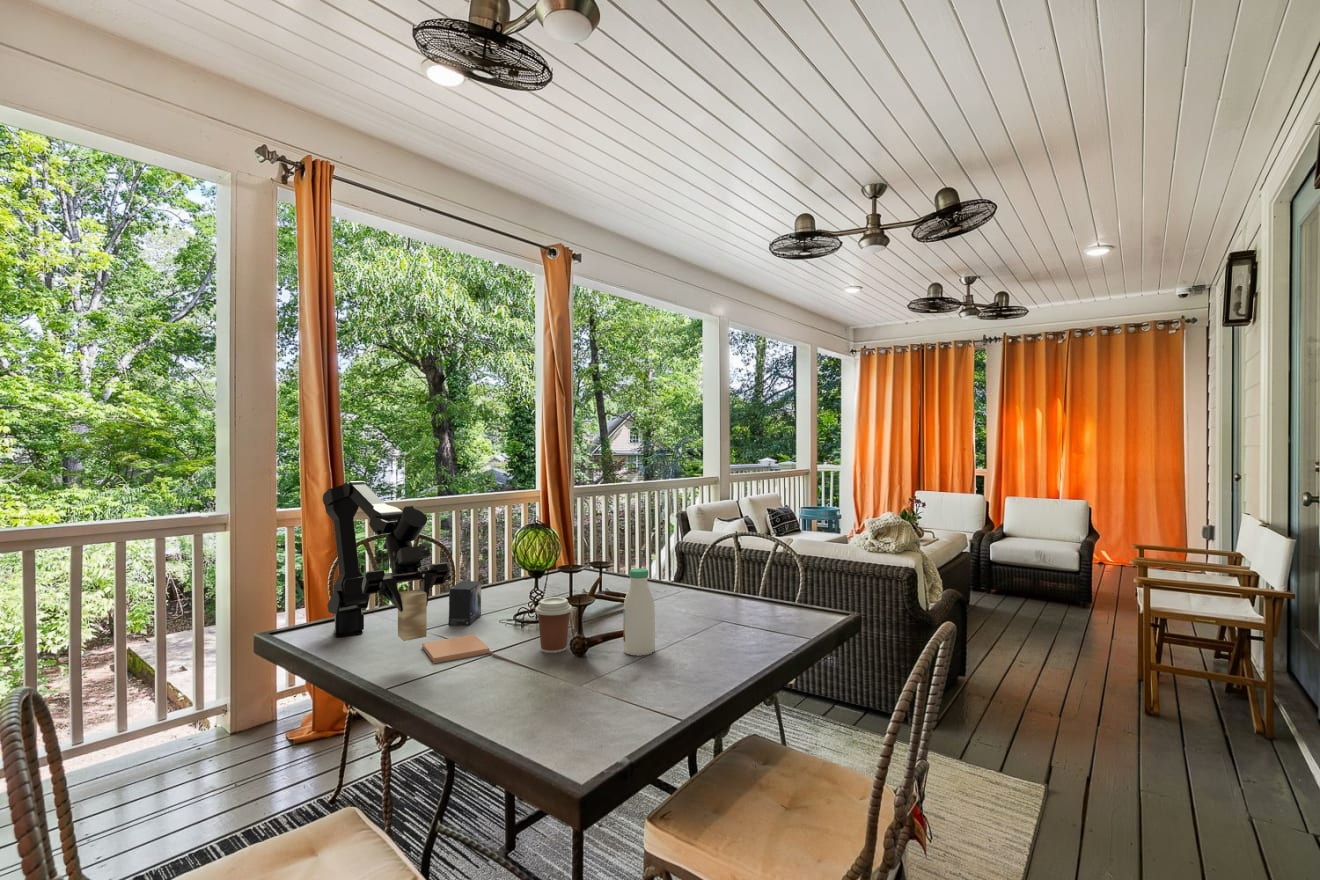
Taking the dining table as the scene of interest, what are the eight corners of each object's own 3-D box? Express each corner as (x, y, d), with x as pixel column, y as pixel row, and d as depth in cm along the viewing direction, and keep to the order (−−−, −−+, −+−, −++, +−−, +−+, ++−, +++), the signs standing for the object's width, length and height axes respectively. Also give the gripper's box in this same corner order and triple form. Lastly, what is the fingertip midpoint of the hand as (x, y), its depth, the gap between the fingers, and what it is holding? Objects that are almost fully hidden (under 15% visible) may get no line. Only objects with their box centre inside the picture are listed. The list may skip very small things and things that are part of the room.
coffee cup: (528, 652, 151) (527, 603, 151) (547, 641, 159) (547, 594, 159) (561, 657, 148) (560, 606, 148) (578, 645, 156) (578, 597, 156)
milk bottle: (661, 650, 152) (661, 569, 152) (639, 659, 146) (639, 574, 146) (639, 644, 157) (639, 565, 157) (616, 651, 151) (616, 569, 151)
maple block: (403, 641, 138) (403, 596, 138) (397, 635, 142) (397, 592, 142) (426, 636, 142) (426, 593, 142) (420, 631, 145) (420, 589, 145)
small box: (470, 626, 173) (470, 588, 173) (447, 626, 173) (447, 588, 173) (482, 615, 184) (482, 580, 184) (460, 615, 184) (460, 580, 184)
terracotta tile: (433, 663, 143) (433, 658, 143) (422, 647, 154) (422, 642, 154) (489, 653, 150) (489, 648, 150) (474, 638, 161) (474, 634, 161)
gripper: (364, 536, 140) (376, 594, 131) (447, 529, 151) (463, 582, 142) (357, 565, 146) (367, 623, 137) (437, 556, 157) (451, 609, 148)
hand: (414, 608), depth 141 cm, fingers closed on maple block, 5 cm apart
